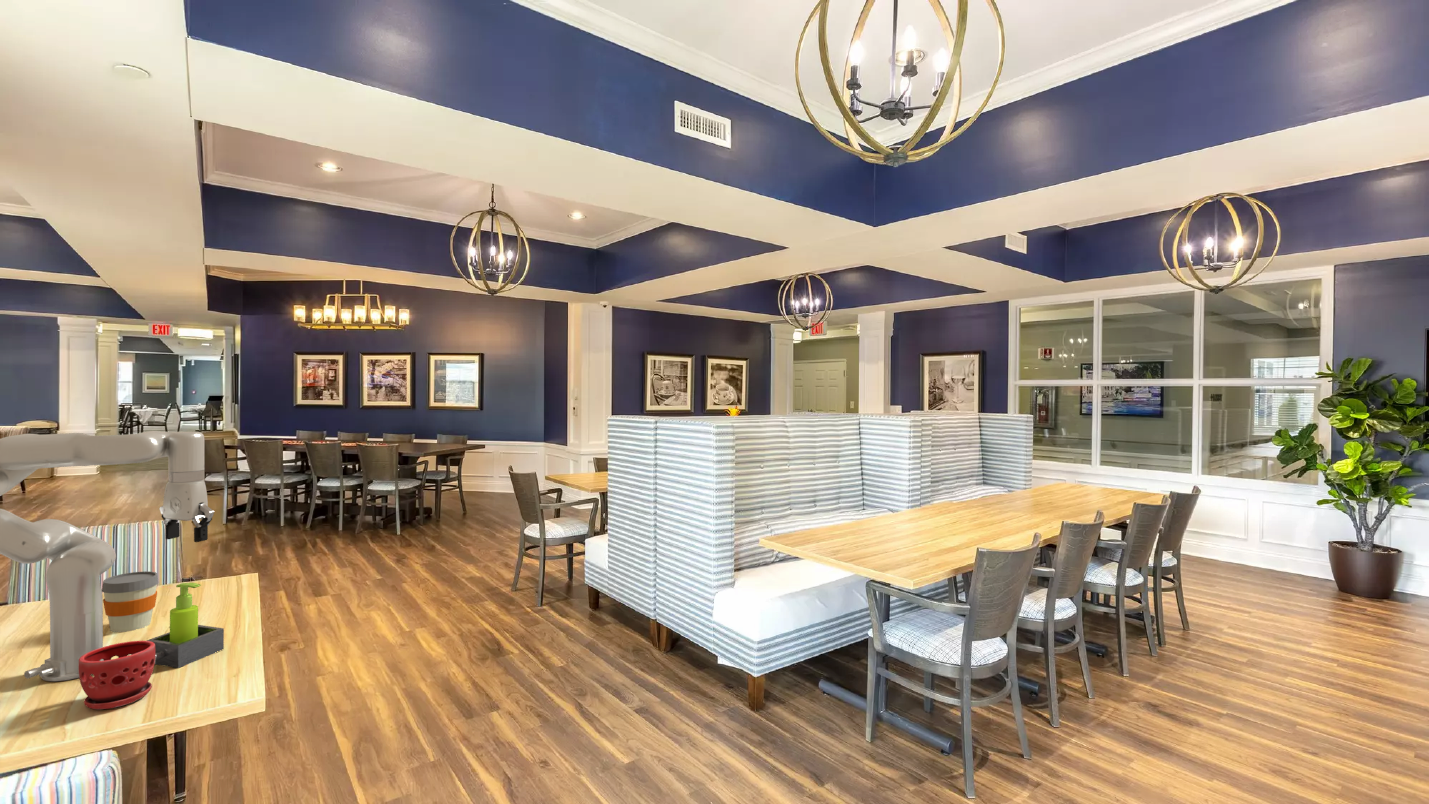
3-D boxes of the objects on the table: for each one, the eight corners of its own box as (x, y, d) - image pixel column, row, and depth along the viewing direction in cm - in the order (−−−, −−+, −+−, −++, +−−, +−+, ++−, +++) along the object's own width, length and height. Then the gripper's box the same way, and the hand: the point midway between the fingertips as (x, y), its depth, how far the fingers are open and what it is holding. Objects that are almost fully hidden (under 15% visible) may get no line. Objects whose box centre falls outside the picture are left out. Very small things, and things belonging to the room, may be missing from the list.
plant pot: (169, 686, 154) (169, 638, 154) (120, 715, 141) (121, 662, 140) (115, 686, 154) (115, 638, 153) (61, 714, 140) (61, 661, 140)
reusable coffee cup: (169, 619, 195) (169, 572, 195) (127, 635, 182) (128, 585, 182) (133, 617, 196) (133, 570, 196) (89, 633, 184) (89, 582, 183)
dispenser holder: (159, 676, 159) (159, 652, 159) (126, 670, 162) (126, 647, 161) (223, 649, 175) (223, 628, 175) (192, 644, 178) (192, 624, 178)
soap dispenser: (188, 661, 168) (189, 587, 167) (163, 660, 168) (163, 586, 167) (207, 651, 173) (207, 580, 173) (182, 651, 174) (183, 579, 173)
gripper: (146, 477, 168) (146, 540, 168) (197, 481, 164) (197, 545, 164) (176, 473, 175) (176, 534, 175) (225, 477, 171) (225, 538, 172)
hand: (186, 539), depth 170 cm, fingers open, 9 cm apart
